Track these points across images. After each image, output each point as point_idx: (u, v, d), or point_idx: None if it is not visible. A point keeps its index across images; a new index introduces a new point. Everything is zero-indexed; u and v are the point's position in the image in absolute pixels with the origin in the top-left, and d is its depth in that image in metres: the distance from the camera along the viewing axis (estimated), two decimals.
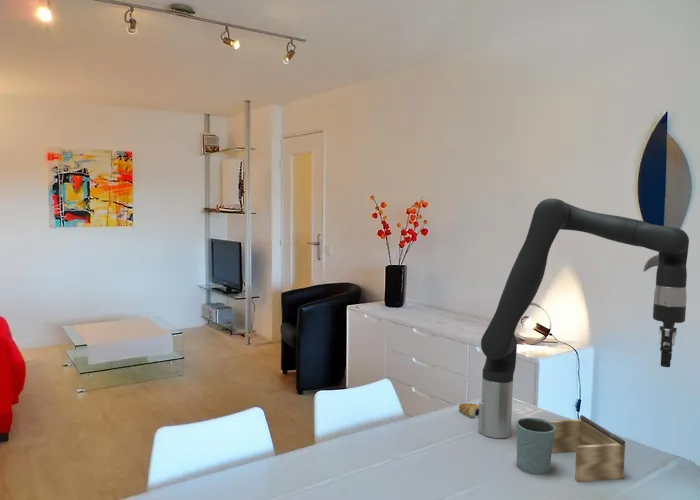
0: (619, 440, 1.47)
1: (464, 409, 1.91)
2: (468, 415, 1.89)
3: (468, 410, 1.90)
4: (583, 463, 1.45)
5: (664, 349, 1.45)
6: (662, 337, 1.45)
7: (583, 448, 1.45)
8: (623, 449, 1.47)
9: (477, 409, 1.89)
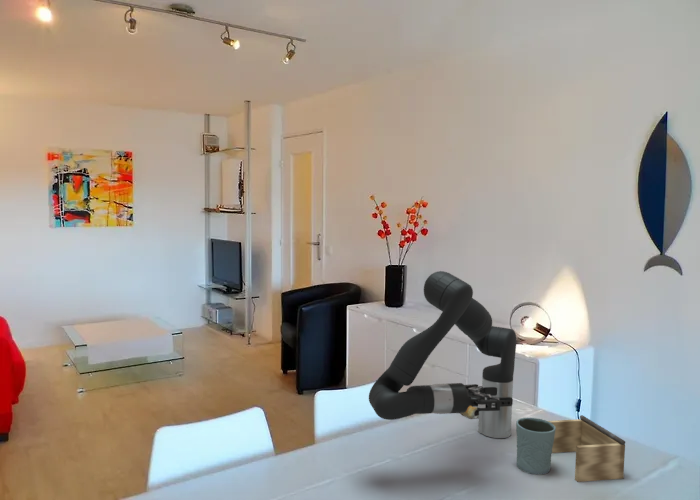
0: (619, 440, 1.47)
1: None
2: (467, 415, 1.89)
3: (467, 410, 1.89)
4: (583, 463, 1.45)
5: None
6: None
7: (583, 448, 1.45)
8: (623, 449, 1.47)
9: (476, 409, 1.89)
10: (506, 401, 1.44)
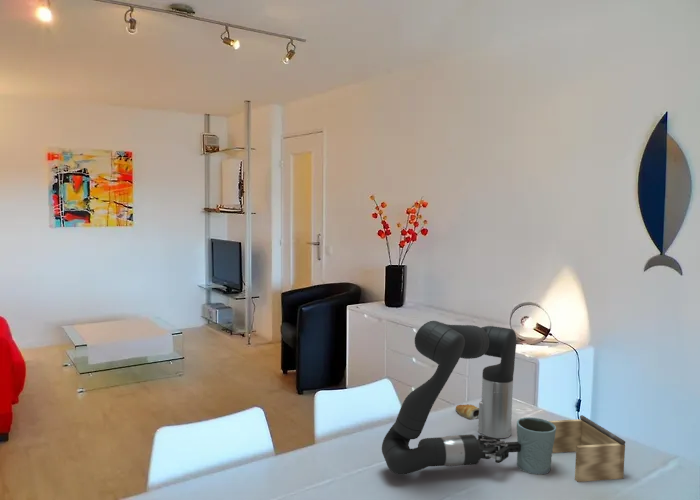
0: (619, 440, 1.47)
1: (462, 410, 1.90)
2: (466, 416, 1.88)
3: (466, 411, 1.88)
4: (583, 463, 1.45)
5: None
6: None
7: (583, 448, 1.45)
8: (623, 449, 1.47)
9: (475, 410, 1.88)
10: (515, 447, 1.50)
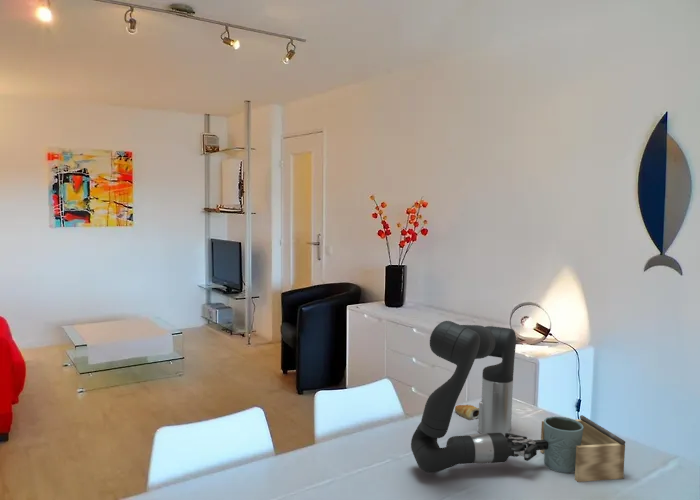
0: (619, 440, 1.47)
1: (461, 411, 1.90)
2: (466, 417, 1.88)
3: (466, 411, 1.88)
4: (583, 463, 1.45)
5: None
6: None
7: (583, 448, 1.45)
8: (623, 449, 1.47)
9: (475, 410, 1.88)
10: (542, 445, 1.51)
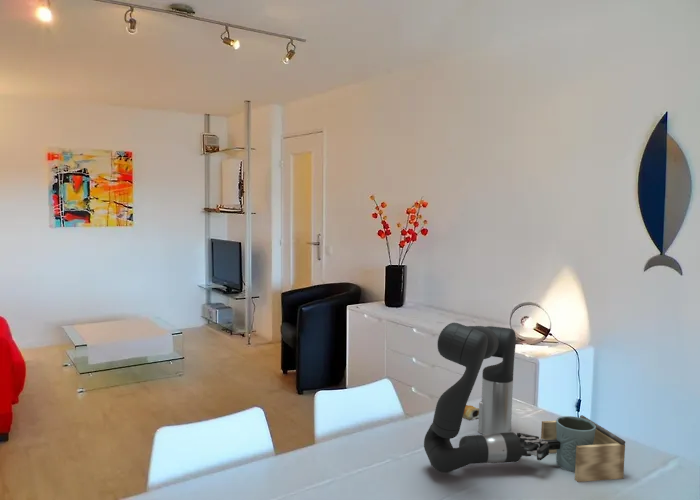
0: (619, 440, 1.47)
1: None
2: (465, 417, 1.88)
3: (465, 411, 1.88)
4: (583, 463, 1.45)
5: None
6: None
7: (583, 448, 1.45)
8: (623, 449, 1.47)
9: (474, 411, 1.88)
10: (555, 445, 1.52)
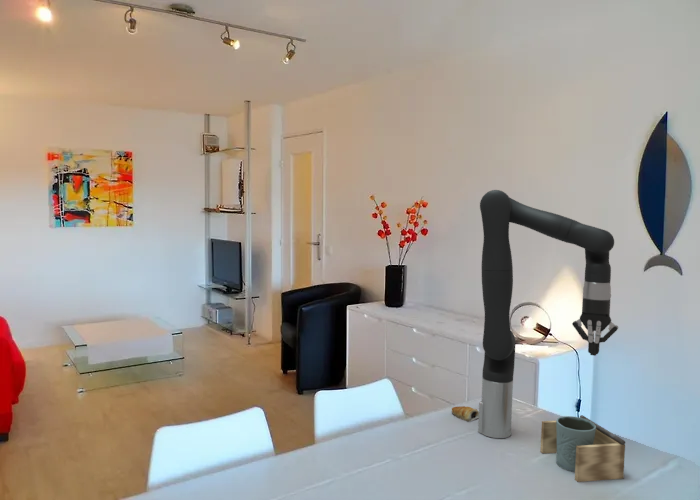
0: (619, 440, 1.47)
1: (459, 412, 1.88)
2: (464, 418, 1.86)
3: (464, 413, 1.86)
4: (583, 463, 1.45)
5: (605, 339, 1.66)
6: None
7: (583, 448, 1.45)
8: (623, 449, 1.47)
9: (473, 412, 1.87)
10: (588, 348, 1.68)
